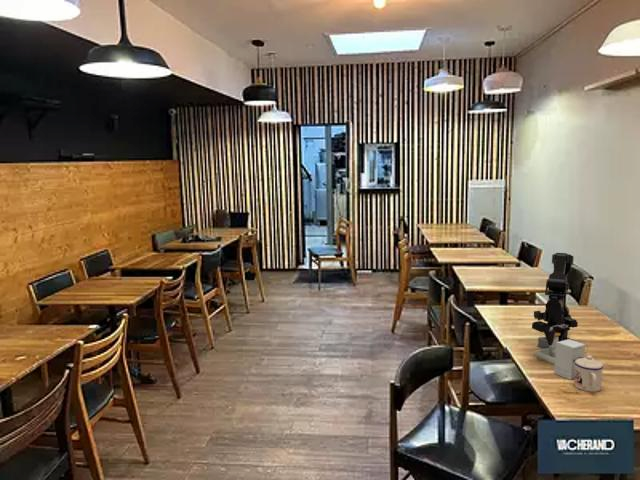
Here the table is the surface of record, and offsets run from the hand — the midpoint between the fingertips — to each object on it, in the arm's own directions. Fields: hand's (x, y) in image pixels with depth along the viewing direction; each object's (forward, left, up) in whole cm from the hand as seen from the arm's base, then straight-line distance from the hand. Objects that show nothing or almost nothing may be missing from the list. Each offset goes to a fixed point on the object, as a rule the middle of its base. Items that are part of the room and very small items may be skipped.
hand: (553, 344), depth 210 cm
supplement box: (+7, +15, -6) cm, 18 cm away
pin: (0, 0, -4) cm, 4 cm away
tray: (0, 0, -6) cm, 6 cm away
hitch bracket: (-8, -9, -6) cm, 14 cm away
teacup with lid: (+10, +27, -6) cm, 29 cm away
